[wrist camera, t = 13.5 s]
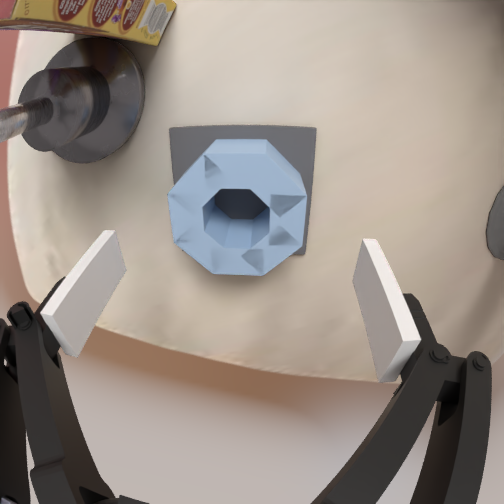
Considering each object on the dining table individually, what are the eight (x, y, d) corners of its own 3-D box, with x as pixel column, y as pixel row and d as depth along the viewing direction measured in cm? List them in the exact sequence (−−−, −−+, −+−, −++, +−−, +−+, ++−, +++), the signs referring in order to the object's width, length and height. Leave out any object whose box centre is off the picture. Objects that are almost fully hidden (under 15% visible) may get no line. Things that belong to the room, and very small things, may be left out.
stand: (39, 58, 16) (-63, 77, 6) (143, 24, 16) (42, -1, 6) (51, 165, 22) (-36, 226, 12) (150, 153, 22) (65, 221, 12)
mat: (171, 127, 21) (169, 128, 20) (315, 127, 20) (316, 128, 20) (183, 247, 27) (182, 250, 26) (304, 251, 26) (305, 254, 26)
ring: (182, 140, 21) (163, 155, 17) (302, 140, 20) (310, 155, 17) (191, 241, 26) (179, 272, 22) (294, 244, 25) (298, 276, 22)
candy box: (180, -1, 15) (58, -78, 2) (159, 47, 17) (8, 30, 4) (89, -10, 13) (-50, -32, 1) (72, 33, 16) (-76, 44, 3)
